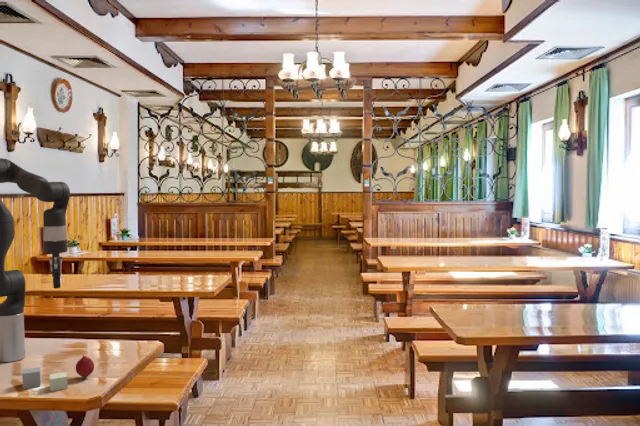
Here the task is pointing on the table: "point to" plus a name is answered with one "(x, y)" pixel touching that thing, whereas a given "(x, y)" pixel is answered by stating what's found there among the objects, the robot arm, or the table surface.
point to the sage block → (58, 381)
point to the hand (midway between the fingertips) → (56, 287)
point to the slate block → (31, 377)
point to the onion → (84, 366)
